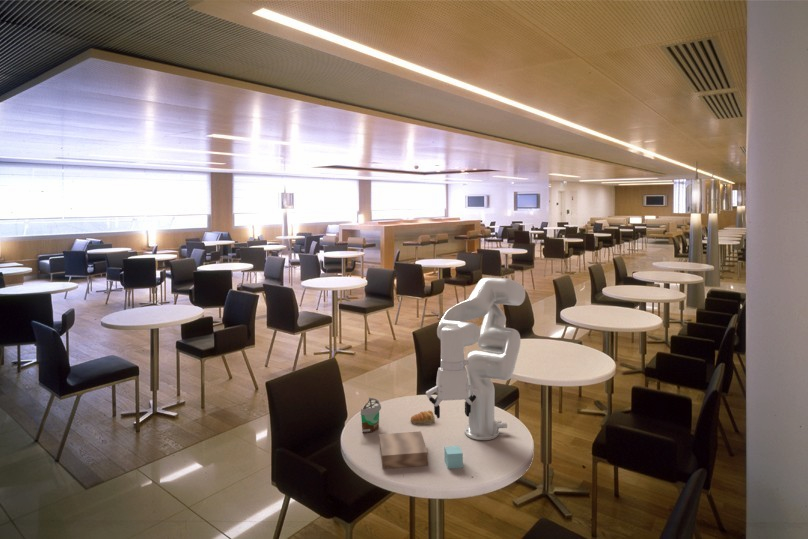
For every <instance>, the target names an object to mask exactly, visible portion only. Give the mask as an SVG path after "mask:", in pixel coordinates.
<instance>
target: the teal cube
mask: <svg viewBox="0 0 808 539" xmlns="http://www.w3.org/2000/svg"><path fill="white" fill-rule="evenodd" d="M463 454H464V453H463V451H462V449H461V447H460V445H453V446H444V463H445V465H446V468H447V469H448V470H449V469H461V468H464V467H463V466H464V463H463V462H464V460H463V458H464V457H463Z"/></svg>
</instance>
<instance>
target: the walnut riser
mask: <svg viewBox="0 0 808 539" xmlns="http://www.w3.org/2000/svg"><path fill="white" fill-rule="evenodd" d="M378 440H379V452H380V460H381V466H382V467H381V469H382V470H385V469H394V468H407V467H408V468H409V467H422V466H423V467H424V466H429V458H428V457H429V454H428V448H427V447H426V446H427V445H426V442H425V439H424V436H423V433H422V431H421V430H420V431H419V430H418V431H410V432H409V431H407V432H396V433H395V432H394V433H393V432H392V433H382V434H381V433H380V434H379V439H378Z"/></svg>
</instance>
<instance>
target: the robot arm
mask: <svg viewBox="0 0 808 539" xmlns="http://www.w3.org/2000/svg"><path fill="white" fill-rule="evenodd" d="M525 300H526V290H525V287H524V286H523V284H521V283H520V282H518V281H517V280H514V279H510V278H506V277H492V276H491V277H490V276H489V277H487V276H486V277H482V278H481V279H479V280H478V282H477V283H476V284H475V286H474V288H473V289H472V291H471V293H470V295H469V296H468V298H467V299H465V300H464V301H461V302H458V303H457V304H455V305H453V306H451V307H450V308H449V309H447V310H446V311H445V312H444V314H443V315H442V318H441V319H440V321H439V323H438V326H437V328H436V335H437V338H438V339H439V341H440V367H438V369H437V373H436V382H435V384H436V385H435V386H434V387H432V388H430V389H428V390H426V391H425V395H426V397H427V398H428V400H429V402H430V403H431V404H432V405H433V407H434V408H433V410H434V411H433V415H434V416H436V417H437V418H436V419H440V418H441V416H440V414H441V413H440V412H441V406H440V403H441V402H442V401H443V402H445V401H461V400H465V401H464V413H465V416H466V417H468V424H467V425H466V426H465V427H464V433H465V435H466V436H467V437H468V438H470V439H473V440H476V441H477V440H478V441H489V440H493V439H495V438H497V437H498V436H499V430H500V429H507V428H508V423H507V422H503V421H502V420H497V421H496V420H495V386H494V383H493V381H492V380H497V381H509V380H510V379H511V378H512V377H513V374H514V371H515V367H516V363H517V360H518V356H519V353H520V348H521V334H520V332H519V330H517V329H515V328H511V327H505V325H506V322H507V317H506V315H505V312H504V311H503V310H502V309H501V307H500V306H499V305H503V306H504V305H507V306H520V305H522V304H523V303H524V302H525ZM479 318H483V320H482V323H481V326H480V327H479V325H478V324H476V323H475V322H470V320H476V319H479ZM476 343H477V346H478V348H479V349H473V350H471V351H470V352H468V353H467V355H466V357H465V347H468V346H473V345H475V344H476ZM433 394H436V397H433V396H432V395H433Z"/></svg>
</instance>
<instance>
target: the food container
mask: <svg viewBox="0 0 808 539" xmlns="http://www.w3.org/2000/svg"><path fill="white" fill-rule="evenodd" d="M381 409H382V404H381V402H380V400H378V398H375V397H368V401H367V402H366V403H365V405H364V406H363V408H361V409H360V415H361V416H360V417H361V430H362V432H361V433H362V434H371V433H374V432H377V431H378V430H379V426H380V425H379V424H380V411H381Z"/></svg>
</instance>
